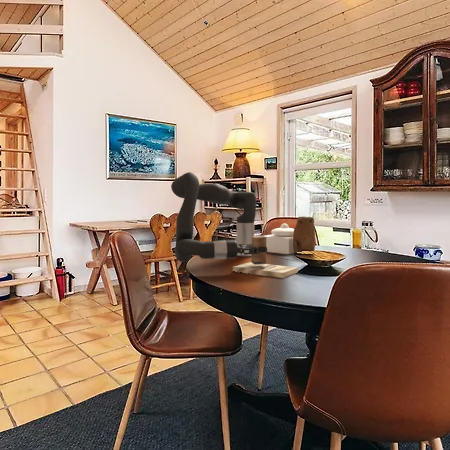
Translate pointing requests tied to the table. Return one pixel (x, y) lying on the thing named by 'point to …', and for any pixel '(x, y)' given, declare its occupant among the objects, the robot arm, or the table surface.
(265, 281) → the table surface
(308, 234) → the brown plush animal
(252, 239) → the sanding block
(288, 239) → the white lidded container
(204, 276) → the table surface
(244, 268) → the board
